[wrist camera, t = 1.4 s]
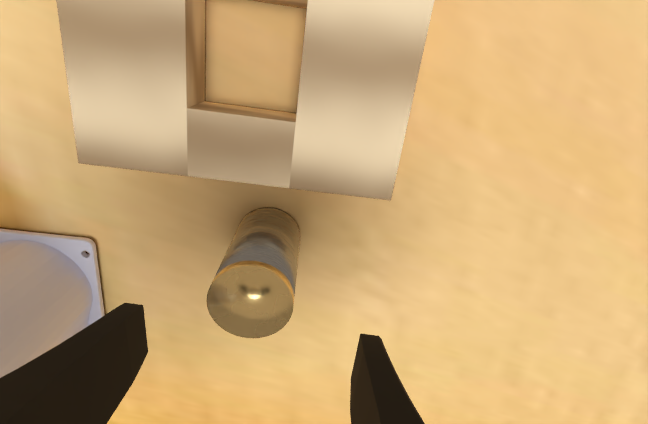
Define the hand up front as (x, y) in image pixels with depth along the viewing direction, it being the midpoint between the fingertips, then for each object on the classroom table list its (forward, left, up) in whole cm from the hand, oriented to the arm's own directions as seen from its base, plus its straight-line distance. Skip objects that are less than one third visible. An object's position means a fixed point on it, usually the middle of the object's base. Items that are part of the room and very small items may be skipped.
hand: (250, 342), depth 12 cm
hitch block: (+9, +2, -12) cm, 14 cm away
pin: (-2, +1, -12) cm, 12 cm away
